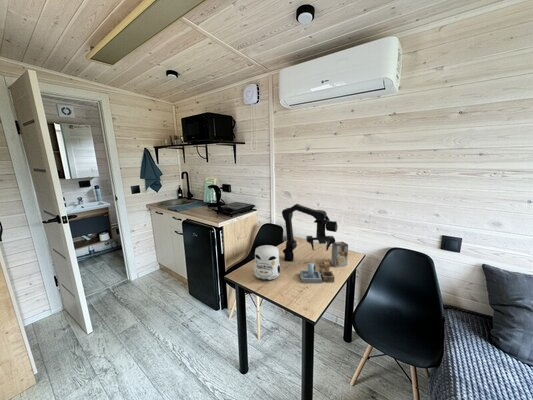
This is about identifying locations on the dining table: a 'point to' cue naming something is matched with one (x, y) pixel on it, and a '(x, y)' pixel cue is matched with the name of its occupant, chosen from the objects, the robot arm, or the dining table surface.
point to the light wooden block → (326, 266)
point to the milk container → (267, 262)
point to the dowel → (310, 270)
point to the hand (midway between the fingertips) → (319, 250)
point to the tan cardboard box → (319, 267)
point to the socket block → (327, 276)
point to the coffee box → (339, 254)
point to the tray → (305, 278)
